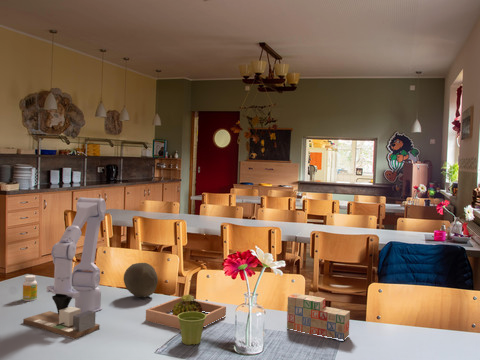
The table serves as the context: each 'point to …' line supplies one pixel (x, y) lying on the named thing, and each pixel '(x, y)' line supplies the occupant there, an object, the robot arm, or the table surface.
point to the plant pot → (191, 326)
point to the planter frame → (160, 317)
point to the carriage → (67, 315)
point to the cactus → (186, 305)
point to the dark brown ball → (141, 279)
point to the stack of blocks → (316, 317)
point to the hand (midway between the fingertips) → (62, 315)
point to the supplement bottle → (30, 288)
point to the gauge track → (49, 320)
